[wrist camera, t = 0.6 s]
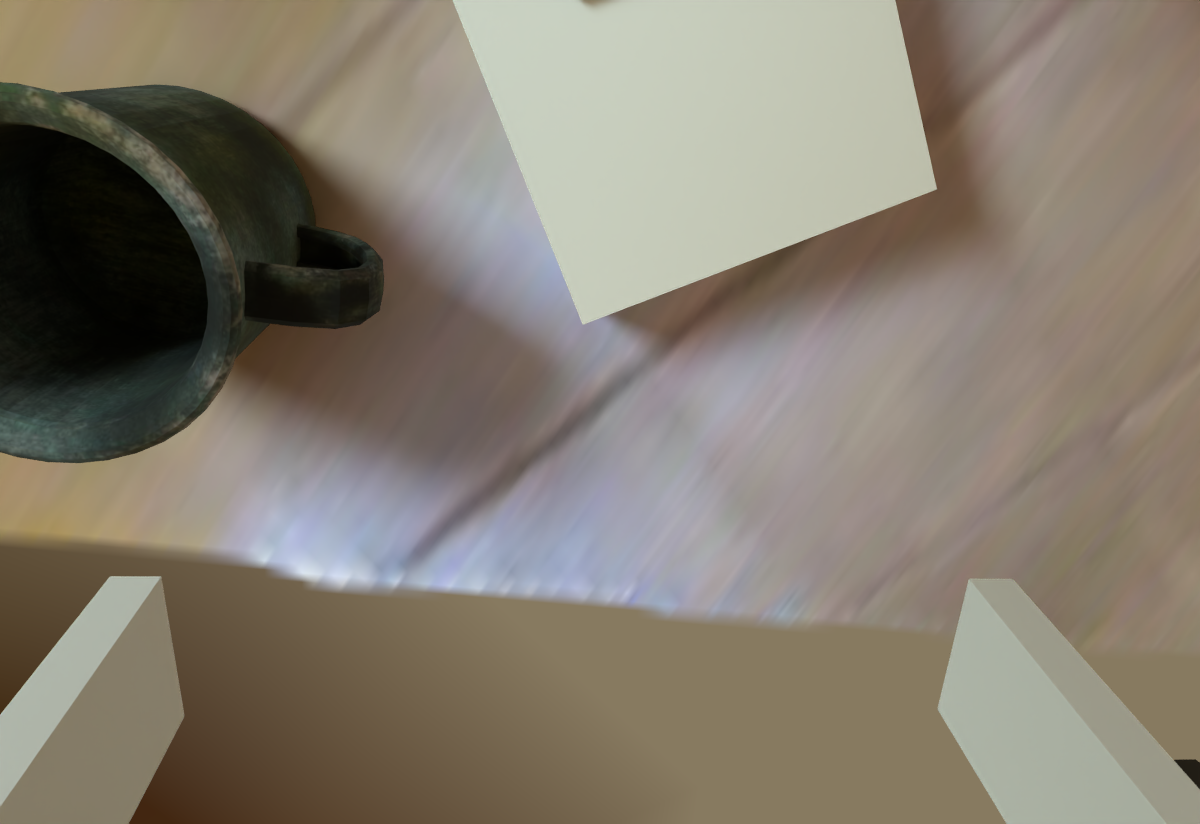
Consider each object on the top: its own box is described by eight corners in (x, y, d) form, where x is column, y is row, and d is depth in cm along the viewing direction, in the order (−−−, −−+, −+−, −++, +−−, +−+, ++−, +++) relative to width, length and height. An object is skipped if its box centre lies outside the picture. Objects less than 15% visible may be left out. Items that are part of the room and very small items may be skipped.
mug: (28, 50, 33) (-230, 49, 22) (421, 108, 35) (366, 134, 24) (52, 327, 37) (-157, 445, 26) (404, 367, 39) (350, 494, 28)
